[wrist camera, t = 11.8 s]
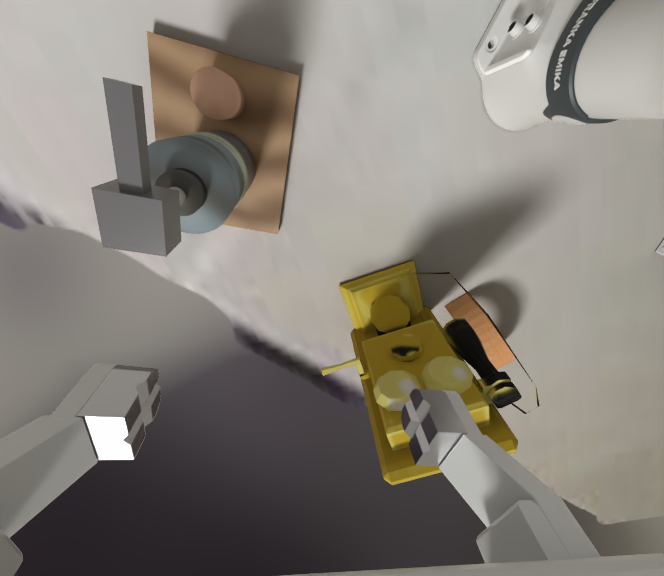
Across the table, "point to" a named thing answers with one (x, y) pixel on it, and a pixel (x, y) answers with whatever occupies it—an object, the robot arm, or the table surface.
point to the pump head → (134, 183)
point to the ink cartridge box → (660, 249)
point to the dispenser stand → (220, 139)
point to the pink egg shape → (217, 94)
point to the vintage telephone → (418, 365)
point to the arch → (482, 330)
